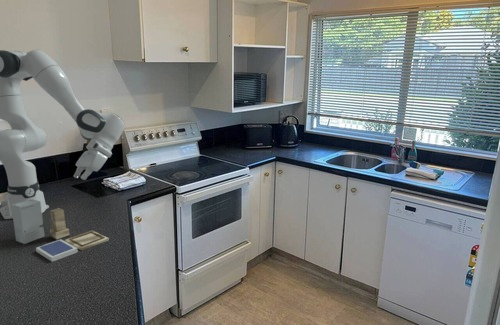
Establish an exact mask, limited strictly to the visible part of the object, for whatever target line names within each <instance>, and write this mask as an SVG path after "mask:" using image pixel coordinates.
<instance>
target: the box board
mask: <svg viewBox="0 0 500 325" xmlns="http://www.w3.org/2000/svg"><path fill="white" fill-rule="evenodd" d="M109 240H110V238H109V237H107V236H104V235H103V234H100V233H99V232H96V231H95V230H89V231H86V232H83V233H80V234H78V235H75V236H72V237H71V236H70V237H69V238H68V237H67V238H66V239H65V240H64V241H65V242H67V243H69V244H70V245H72V246H74V247H76V248H77V250H80V251H85V250H88V249H89V248H92V247H95V246H97V245H101V244H103V243H106V242H108V241H109Z"/></svg>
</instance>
